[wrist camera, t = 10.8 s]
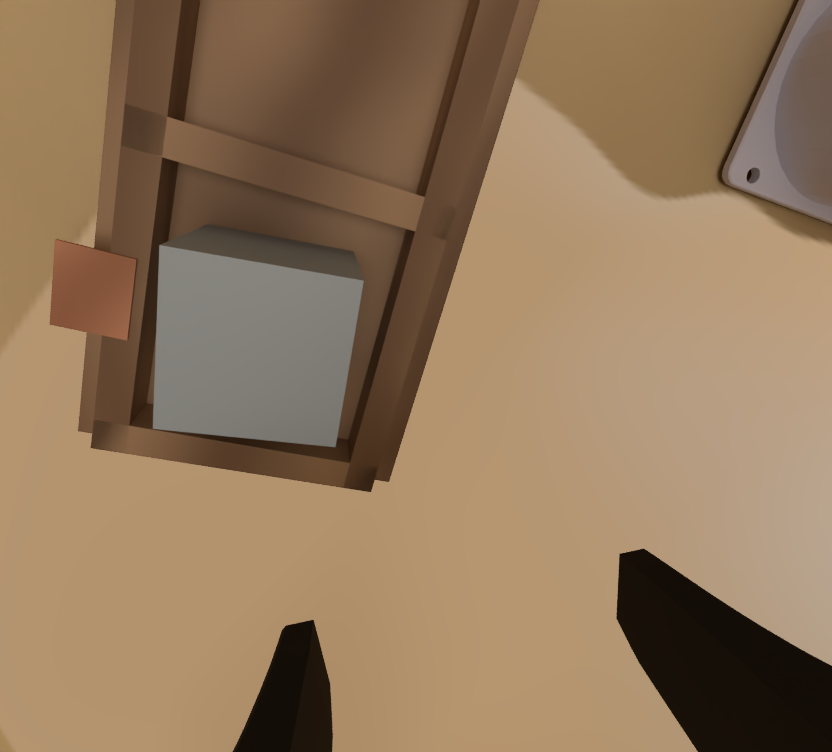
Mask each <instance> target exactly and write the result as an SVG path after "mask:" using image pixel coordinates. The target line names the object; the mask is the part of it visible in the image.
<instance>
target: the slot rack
mask: <svg viewBox="0 0 832 752" xmlns="http://www.w3.org/2000/svg"><path fill="white" fill-rule="evenodd" d="M538 4H539V0H116V8H115V19H114V31H113V42H112V53H111V65H110V76H109V87H108V99H107V110H106V121H105V133H104V144H103V155H102V167H101V178H100V189H99V201H98V212H97V223H96V235H95V247H94V248H90V247H87V246H83V245H79V244H75V243H70V242H66V241H62V240H58V239H56V240H55V250H54V266H53V281H52V298H51V313H50V325H55V326H60V327H65V328H70V329H75V330H79V331H84V332H87V337H86V349H85V359H84V371H83V382H82V394H81V405H80V416H79V427H78V431H81V432H87V433H92V442H91V448H94V449H100V450H107V451H114V452H119V453H126V454H132V455H138V456H145V457H152V458H158V459H164V460H170V461H177V462H183V463H190V464H196V465H202V466H208V467H215V468H221V469H228V470H234V471H241V472H247V473H253V474H259V475H266V476H272V477H279V478H285V479H292V480H298V481H304V482H310V483H317V484H323V485H330V486H336V487H342V488H349V489H355V490H361V491H368V492H371V490H372V486H373V483H374V480H380V481H387V482H389V480H390V476H391V473H392V470H393V467H394V463H395V460H396V457H397V454H398V451H399V448H400V444H401V441H402V438H403V435H404V432H405V428H406V425H407V422H408V419H409V416H410V413H411V409H412V406H413V403H414V400H415V397H416V393H417V390H418V387H419V384H420V381H421V377H422V374H423V371H424V368H425V365H426V361H427V358H428V355H429V352H430V349H431V345H432V342H433V339H434V336H435V332H436V329H437V326H438V323H439V320H440V317H441V313H442V310H443V307H444V304H445V301H446V297H447V294H448V291H449V288H450V285H451V281H452V278H453V275H454V272H455V269H456V266H457V262H458V259H459V256H460V253H461V250H462V246H463V243H464V240H465V237H466V234H467V230H468V227H469V224H470V221H471V218H472V214H473V211H474V208H475V205H476V201H477V198H478V195H479V192H480V188H481V186H482V182H483V179H484V176H485V172H486V170H487V166H488V163H489V160H490V157H491V154H492V150H493V147H494V144H495V141H496V137H497V134H498V131H499V128H500V125H501V122H502V119H503V115H504V112H505V109H506V105H507V103H508V99H509V96H510V93H511V90H512V87H513V83H514V80H515V77H516V74H517V71H518V67H519V64H520V61H521V58H522V55H523V52H524V48H525V45H526V42H527V39H528V36H529V32H530V29H531V26H532V23H533V20H534V16H535V13H536V10H537V7H538ZM207 224H210V225H216V226H221V227H226V228H232V229H237V230H243V231H248V232H253V233H259V234H264V235H269V236H275V237H280V238H285V239H291V240H296V241H302V242H307V243H312V244H318V245H323V246H328V247H334V248H339V249H345V250H350V251H354V254H355V257H356V260H357V263H358V265H359V268H360V271H361V274H362V277H363V280H364V283H363V289H362V295H361V300H360V306H359V312H358V318H357V324H356V330H355V336H354V342H353V347H352V353H351V359H350V365H349V371H348V377H347V383H346V389H345V394H344V400H343V406H342V412H341V418H340V424H339V430H338V436H337V441H336V447H328V446H318V445H308V444H298V443H288V442H278V441H268V440H258V439H249V438H239V437H229V436H219V435H209V434H199V433H189V432H179V431H169V430H159V429H153V408H154V380H155V353H156V325H157V298H158V270H159V245H161V244H163V243H165V242H168V241H170V240H172V239H175V238H177V237H179V236H181V235H184V234H186V233H188V232H191V231H193V230H195V229H198V228H200V227H202V226H204V225H207Z"/></svg>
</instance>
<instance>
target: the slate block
mask: <svg viewBox="0 0 832 752" xmlns="http://www.w3.org/2000/svg"><path fill="white" fill-rule="evenodd" d="M363 283H364V280H363V277H362V274H361V271H360V268H359V265H358V263H357V260H356V257H355V254H354V251H350V250H345V249H339V248H334V247H328V246H323V245H318V244H312V243H307V242H302V241H296V240H291V239H285V238H280V237H275V236H269V235H264V234H259V233H253V232H248V231H243V230H237V229H232V228H226V227H221V226H216V225H210V224H207V225H204V226H202V227H200V228H198V229H195V230H193V231H191V232H188V233H186V234H184V235H181V236H179V237H177V238H175V239H172V240H170V241H168V242H165V243H163V244H161V245H159V270H158V298H157V325H156V353H155V380H154V408H153V429H159V430H169V431H179V432H189V433H199V434H209V435H219V436H229V437H239V438H249V439H258V440H268V441H278V442H288V443H298V444H308V445H318V446H328V447H336V441H337V436H338V430H339V424H340V418H341V412H342V406H343V400H344V394H345V389H346V383H347V377H348V371H349V365H350V359H351V353H352V347H353V342H354V336H355V330H356V324H357V318H358V312H359V306H360V300H361V295H362V289H363Z"/></svg>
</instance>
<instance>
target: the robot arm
mask: <svg viewBox="0 0 832 752" xmlns="http://www.w3.org/2000/svg"><path fill="white" fill-rule="evenodd" d="M749 170H751V173H752V174H751V178H750V179H749V181H747V179H746V176H747V173H748V172H749ZM722 179H723V181H724V183H726V184H727V185H728V186H731V187H734V188H736V189H739V190H742V191H744V192H747V193H750V194H752V195H755V196H758V197H760V198H763V199H766V200H768V201H771V202H774V203H776V204H779V205H781V206H784V207H787V208H789V209H792V210H795V211H797V212H800V213H803V214H805V215H808V216H811V217H813V218H816V219H819V220H821V221H824V222H827V223H829V224H832V0H799V1H798V3H797V5H796V8H795V10H794V12H793V14H792V17H791V19H790V21H789V23H788V25H787V28H786V30H785V32H784V34H783V37H782V39H781V41H780V43H779V45H778V48H777V50H776V52H775V54H774V57H773V59H772V61H771V63H770V65H769V68H768V70H767V72H766V74H765V76H764V79H763V81H762V83H761V85H760V88H759V90H758V92H757V94H756V96H755V99H754V101H753V103H752V105H751V108H750V110H749V112H748V114H747V116H746V119H745V121H744V123H743V125H742V128H741V130H740V132H739V134H738V136H737V139H736V141H735V143H734V145H733V147H732V150H731V152H730V154H729V156H728V159H727V161H726V163H725V165H724V168H723V171H722ZM617 620H618V622H619V624H620V626H621V628H622V630H623V632H624V634H625V636H626V638H627V640H628V642H629V644H630V646H631V648H632V650H633V652H634V654H635V655H636V657H637V659H638V661H639V663H640V664H641V666H642V667H643V669H644V671H645V672H646V674H647V675H648V677H649V678H650V680H651V681H652V683H653V685H654V686H655V688H656V689H657V690H658V692H659V694H660V695H661V697H662V698H663V700H664V701H665V703H666V704H667V706H668V707H669V709H670V710H671V712H672V713H673V715H674V716H675V718H676V719H677V721H678V722H679V724H680V725H681V727H682V728H683V730H684V731H685V733H686V734H687V736H688V737H689V739H690V740H691V742H692V743H693V745H694V746H695V748H696V750H697V751H698V752H832V666H831V665H829V664H827V663H825V662H823V661H821V660H819V659H817V658H816V657H813V656H812V655H810V654H808V653H806V652H805V651H803V650H801V649H799V648H797V647H796V646H794V645H792V644H790V643H789V642H787V641H785V640H784V639H782V638H780V637H779V636H777V635H775V634H773V633H772V632H770V631H768V630H767V629H765V628H763V627H761V626H760V625H758V624H757V623H755V622H753V621H752V620H750V619H749V618H747V617H746V616H744V615H742V614H741V613H739V612H737V611H736V610H734V609H733V608H731V607H730V606H728V605H727V604H725V603H724V602H722V601H721V600H719V599H717V598H716V597H714V596H713V595H711V594H710V593H708V592H707V591H705V590H704V589H702V588H701V587H700V586H698V585H697V584H695V583H693V582H692V581H691V580H689V579H688V578H686V577H684V576H683V575H682V574H680V573H679V572H677V571H676V570H675V569H673V568H672V567H670V566H669V565H667V564H666V563H664V562H663V561H661V560H660V559H659V558H657V557H656V556H654V555H653V554H651V553H650V552H648V551H647V550H645V549H640V550H636V551H631V552H626V553H622V554H620V558H619V578H618V600H617ZM332 738H333V733H332V711H331V693H330V682H329V678H328V674H327V670H326V666H325V663H324V659H323V655H322V651H321V647H320V643H319V639H318V635H317V631H316V628H315V624H314V620H310V621H306V622H301V623H297V624H292V625H288V626H285V628H284V629H283V630H282V632H281V635H280V638H279V642H278V644H277V647H276V650H275V653H274V656H273V659H272V661H271V665H270V667H269V669H268V672H267V675H266V677H265V680H264V682H263V685H262V687H261V690H260V692H259V695H258V697H257V699H256V702H255V704H254V706H253V709H252V711H251V713H250V716H249V718H248V720H247V723H246V725H245V727H244V730H243V732H242V734H241V736H240V738H239V740H238V742H237V744H236V746H235V748H234V750H233V752H332Z"/></svg>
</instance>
